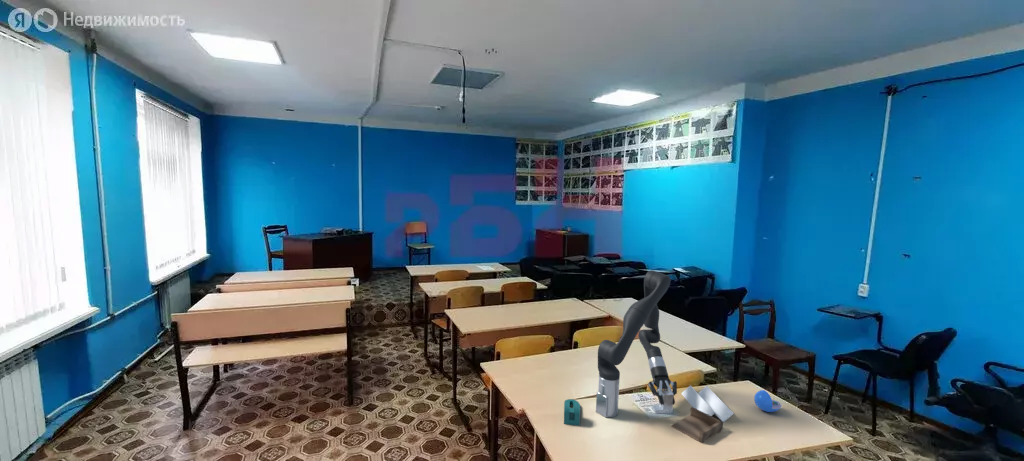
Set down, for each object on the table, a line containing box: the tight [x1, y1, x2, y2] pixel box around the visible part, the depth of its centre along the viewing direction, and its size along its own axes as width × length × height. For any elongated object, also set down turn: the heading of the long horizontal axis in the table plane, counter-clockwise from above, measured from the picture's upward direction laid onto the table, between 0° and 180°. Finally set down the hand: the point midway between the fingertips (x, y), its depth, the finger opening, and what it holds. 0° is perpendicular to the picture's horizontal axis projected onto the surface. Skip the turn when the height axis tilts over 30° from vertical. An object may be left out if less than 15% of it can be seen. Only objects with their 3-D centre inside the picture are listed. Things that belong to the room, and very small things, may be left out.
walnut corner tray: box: [670, 406, 724, 444], centre depth 174 cm, size 16×14×4 cm
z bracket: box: [680, 384, 734, 423], centre depth 192 cm, size 12×25×6 cm
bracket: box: [563, 398, 581, 426], centre depth 183 cm, size 18×7×8 cm, turn 172°
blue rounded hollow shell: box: [753, 389, 783, 413], centre depth 190 cm, size 10×12×10 cm
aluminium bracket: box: [651, 390, 674, 415], centre depth 187 cm, size 8×4×9 cm, turn 95°
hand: (667, 404), depth 185 cm, fingers closed on aluminium bracket, 4 cm apart
